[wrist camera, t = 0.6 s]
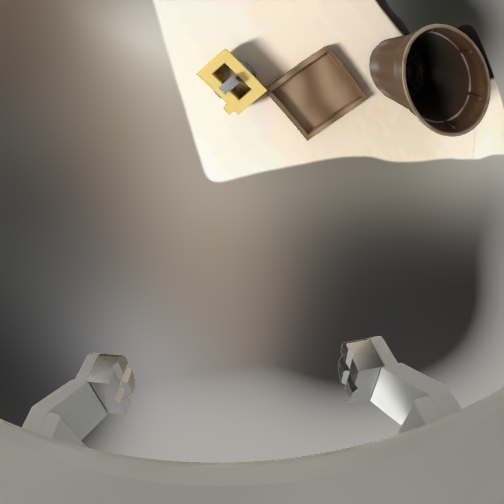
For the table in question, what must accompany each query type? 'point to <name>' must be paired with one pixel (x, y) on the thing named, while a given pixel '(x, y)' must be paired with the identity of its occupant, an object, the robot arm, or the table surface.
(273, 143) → the table surface
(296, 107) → the tray
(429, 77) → the plant pot
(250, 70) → the silver knob
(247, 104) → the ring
